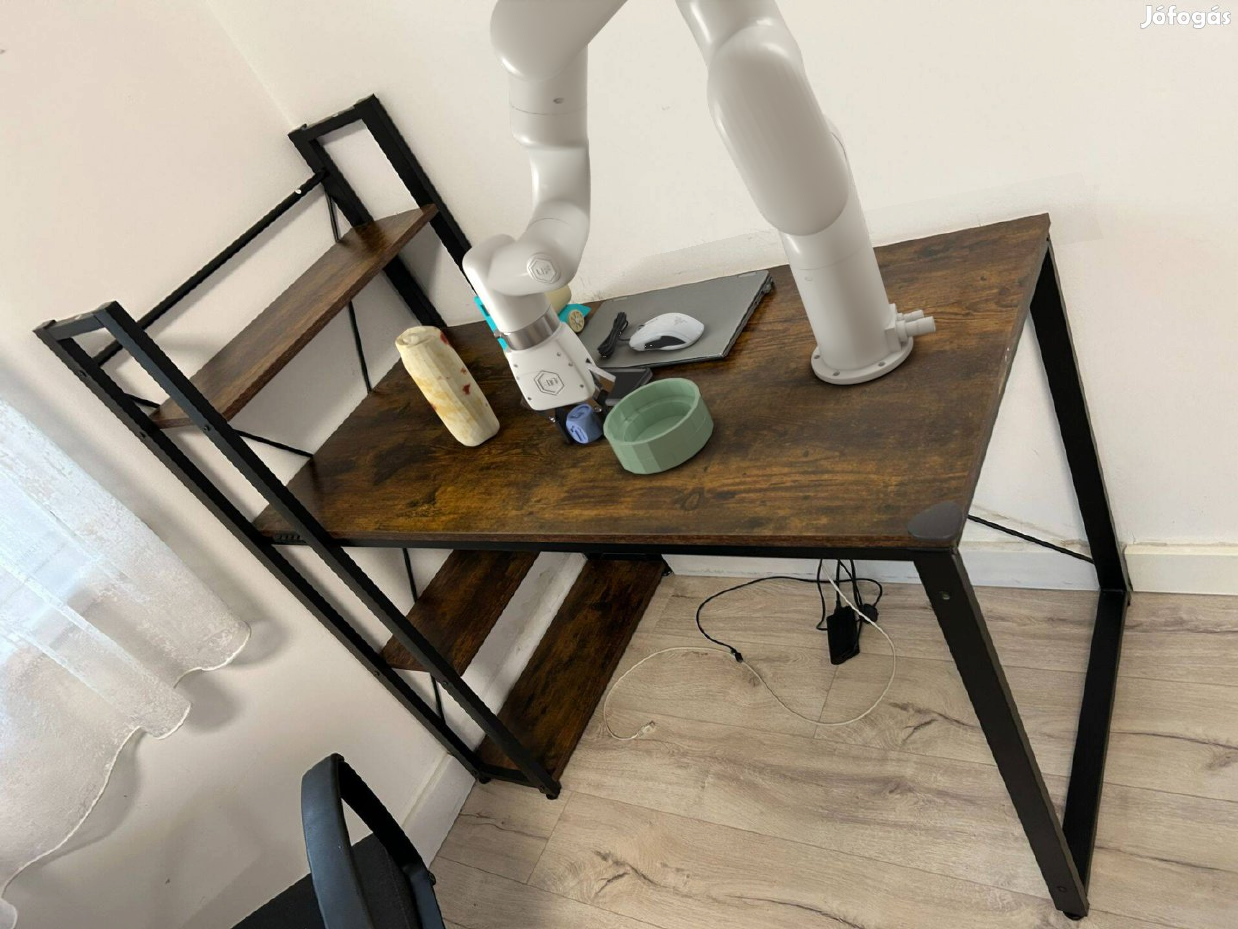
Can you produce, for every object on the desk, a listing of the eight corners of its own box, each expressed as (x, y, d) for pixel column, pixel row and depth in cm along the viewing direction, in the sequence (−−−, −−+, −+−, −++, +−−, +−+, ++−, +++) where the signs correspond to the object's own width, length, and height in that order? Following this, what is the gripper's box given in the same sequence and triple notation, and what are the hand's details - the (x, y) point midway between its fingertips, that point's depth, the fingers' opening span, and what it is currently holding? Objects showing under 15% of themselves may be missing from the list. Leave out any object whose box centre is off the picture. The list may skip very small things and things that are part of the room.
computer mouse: (691, 354, 129) (681, 332, 126) (595, 363, 140) (584, 343, 137) (717, 315, 134) (708, 293, 132) (622, 326, 145) (612, 306, 143)
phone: (579, 366, 138) (652, 366, 128) (582, 372, 139) (655, 372, 129) (551, 398, 134) (624, 400, 124) (554, 404, 135) (627, 406, 125)
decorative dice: (573, 442, 124) (561, 420, 122) (590, 423, 126) (578, 402, 124) (592, 445, 121) (580, 423, 119) (609, 426, 123) (597, 404, 121)
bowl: (722, 401, 116) (707, 369, 113) (705, 467, 106) (689, 433, 103) (633, 420, 122) (617, 389, 119) (610, 484, 112) (592, 452, 109)
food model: (513, 420, 137) (447, 315, 126) (490, 449, 133) (420, 343, 122) (469, 422, 142) (403, 322, 132) (447, 450, 138) (376, 348, 128)
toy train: (597, 312, 154) (559, 238, 146) (547, 370, 145) (503, 294, 137) (564, 315, 159) (525, 244, 151) (513, 372, 150) (470, 299, 142)
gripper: (467, 358, 115) (532, 460, 124) (579, 327, 107) (639, 439, 117) (487, 327, 120) (547, 427, 130) (595, 296, 112) (650, 404, 122)
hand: (590, 431), depth 123 cm, fingers closed on decorative dice, 5 cm apart
